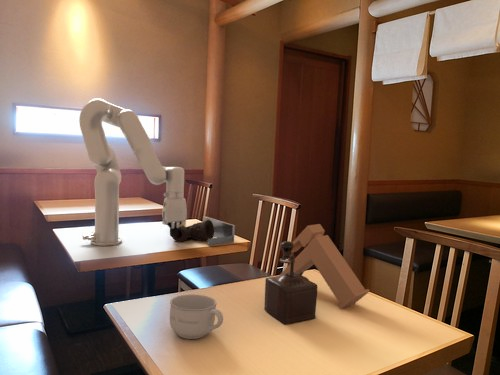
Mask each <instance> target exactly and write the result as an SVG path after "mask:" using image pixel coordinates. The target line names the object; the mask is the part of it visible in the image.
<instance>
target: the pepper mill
mask: <svg viewBox="0 0 500 375" xmlns="http://www.w3.org/2000/svg"><path fill="white" fill-rule="evenodd" d="M292 242H293V241H288V240H287V241H285V240H284V241H283V242H281V243H280V249H281V250H282V253H283V252H284V253H283V255H282V258H280V259H279V262H280V263H283V264H288V265H289V264H290V273H286V274H283V275H281V276H279V275H277V276H275V275H274V276H270V277H265V284H264V285H265V286H264V308H263V310H264V311H265V312H266V314H268V315H269V316H271V317H272V318H274V320H276V321H278V322H279V323H281V324H283V325H284V326H287V325H293V324H297V323H302V322H307V321H311V320H315V319H316V318H317V316H316V314H317V313H316V312H317V311H316V310H317V301H318V284H317V283H315V282H313V281H311V280H309V278H308V277H306V276H304V275H303V274H304V272H300V274H297V273H294V272H293V271H294V263H295V260H294V259H295V258H296V256H295V255H294V254H292V252H291V251H292V249H293V247H294V245H293V243H292Z"/></svg>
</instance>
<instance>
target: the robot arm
mask: <svg viewBox="0 0 500 375" xmlns="http://www.w3.org/2000/svg"><path fill="white" fill-rule="evenodd" d="M78 121H79V122H78V123H79V127H80V131H81V135H82V138H83V142H84V145H85V149H86V151H87V152H86V153H87V156H88V160H89V161H90V163H92V164H93V165H94V167H95V170H96V175H95V177H94V181H93V182H94V183H93V184H94V185H93V186H94V231H92V233H90V234H83V235H82V240H84V241H85V240H87V241H90V244H91V245H95V246H100V247H109V246H117V245H120V244H122V243H123V238H121V237H119V228H120V227H119V226H120V224H119V221H120V220H119V217H120V214H119V213H120V183H121V182H122V173H121V170H120V167H119V164H118V163H119V162H118V159H117V157H116V154H115V151H114V148H112V146H111V145H110V144H109V143H108V140H107V137H106V135H105V130H104V128H103V125H102V124H103V123H106V124H109V125H111V126H113V127H117V128H120V129H119V130H120V131H121V132H122V134H123V136H124V137H125V139H126V141H127V143H128V145H129V146H130V148H131V150H132V152H133V155H134V156H135V157H136V159H137V161H138V162H139V164H140V167H141V168H142V170H143V172H144V174H145V176H146V178H147V180H149V182H150V183H151V184H152V185H157V186H159V185H162V184H163V183H166V184H165V185H166V186H165V187H166V190H165V192H164V193H163V197H164V199H163V205H162V213H161V216H162V218H161V219H162V225H167V226H168V227H169V235H170V237H173V238H174V237H177V234H178V228H179V226H180V225H181V224H182V223H185V220H186V221H187V219H188V210H187V208H188V206H187V201H186V198H184V197H185V196H184V193H185V192H184V190H185V189H184V188H185V169H184V168H183V167H181V166H163V165H162V163H161V162H160V160H159V158H158V156H157V154H156V152H155V150H154V146H153V143H152V140H151V139H150V137H149V135H148V133H147V132H146V130H145V127H143V125H142V123H141V121H140V119H139V116H138V114H137V113H136V112H135V111H133V110H131V109H126V108H123V107H120V106H118V105H115V104H113V103H110V102H108V101H106V100H104V99H102V98H93V99H91V100H89V101H88V102H87V103H86V104H85V105H84V106H83V107H82V109H81V111H80V114H79V120H78ZM102 122H103V123H102ZM173 238H172V239H173Z"/></svg>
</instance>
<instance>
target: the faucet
mask: <svg viewBox="0 0 500 375" xmlns="http://www.w3.org/2000/svg"><path fill="white" fill-rule="evenodd" d="M291 242H292V243H293V245H294V247H293V249H292V251H291V253H295V252H298V251H299V250H300V249H301V248H302V247H303V248H304V249H303V250H302V251H301V252H300V253H299V254H298V255H297V256H295V258H294V260H295V263H294V271H293V272H294V273H297V274H300V272H303V273H305V272H306V271H307V270H308V269H310V268H311V267H312V266H315V267H316V269H317V270H318V272H319V274H320V275H321V277H322V279H323V280H324V282H325V283H326V285H327V286H328V288H329V289H330V291H331V292H332V293H333V295H334V297H335V299H336V300H337V301H338V303H339V306H338V308H339V310H341V309H342V310H343V309H344V308H348V307H350V306H352V305H355V304H356V303H357V302H358V301H360V300H361V299H362V298H364V297H365V296H366V295H367V294H369V293H370V289H369V288H367V289H366V288H365V287H364V286H363V284H362V283H361V281H360V280H359V278H358V277H357V275H356V274H355V273H354V271H353V269H352V268H351V267H350V266H349V264H348V262H347V261H346V259H345V258H344V257H343V255H342V254H341V252H340V251H339V249H338V248H337V246H336V244H334V242H333V241H332V239H331V238H330V236H329V235H328V234H326V235H325V229H324V228H323V226H322V224H320V223H317V224H310V225H307V226H306V227H305V228H304V229H303V230H302V231H301V232H300V233H299V234H298V236H296V238H295V239H294V240H293V241H291ZM282 253H283V254H284V252H283V251H282ZM286 273H290V263H289V264H288V266H286V268H284V270H283V271H282V272H281V273H280V274H279V275H278V276H281V275H283V274H286Z"/></svg>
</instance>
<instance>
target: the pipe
mask: <svg viewBox="0 0 500 375" xmlns="http://www.w3.org/2000/svg"><path fill="white" fill-rule="evenodd" d="M214 237H215V236H214V227H213V223H212V222H211V221H210V220H206V221H204V222H203V221H202V222H197V223H193V224H192V225H189V226H186V227H185V226H179V228H178V234H177V237H174V238H173V237H172V239H173V240H174V241H176V242H180V243H182V242H184V241H185V242H186V240H188V239H190V238H192V239H194V240H198V241H205V242H208V239H210V238H214Z"/></svg>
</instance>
